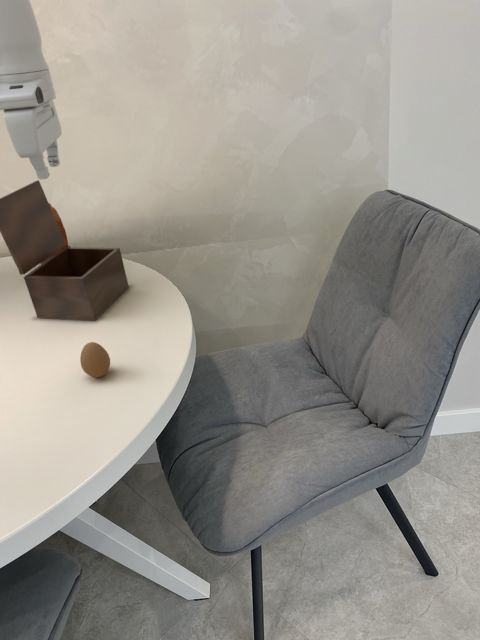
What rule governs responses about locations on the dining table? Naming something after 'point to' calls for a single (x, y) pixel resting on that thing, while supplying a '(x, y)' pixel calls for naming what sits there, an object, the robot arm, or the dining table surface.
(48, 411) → the dining table surface
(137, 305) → the dining table surface
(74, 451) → the dining table surface
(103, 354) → the egg
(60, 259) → the chest
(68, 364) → the dining table surface
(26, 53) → the robot arm
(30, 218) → the chest lid
